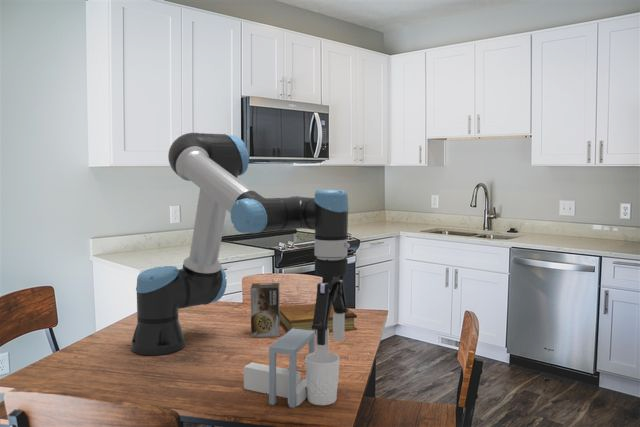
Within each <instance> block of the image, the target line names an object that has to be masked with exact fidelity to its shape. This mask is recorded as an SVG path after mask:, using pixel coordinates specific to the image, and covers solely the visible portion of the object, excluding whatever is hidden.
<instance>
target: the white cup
mask: <svg viewBox="0 0 640 427" xmlns="http://www.w3.org/2000/svg"><path fill="white" fill-rule="evenodd" d="M340 361H341V360H340V356H339V355H338V354H336V353H333V352H331V351H329V359H319V358H316V351H315V352H313V353H310V354H309V353H308V354H306V355H305V378H306V384H307V395H308V398H307V401H308V402H309V403H310V404H312V405H316V406H328V405H331V404H335V403H336V401H337V396H338V388H339V387H338V386H339V377H340V376H339V375H340V374H339V372H340Z"/></svg>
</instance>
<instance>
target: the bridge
mask: <svg viewBox="0 0 640 427" xmlns="http://www.w3.org/2000/svg"><path fill="white" fill-rule="evenodd" d="M307 344H308V354H310V353H313V352H316V334H315V331H312V330H303V329H293V328H292V329H291V330H290V331H289V332H285V334H284V335H283V336H281V337H280V338H279V339H278V340H276V341H275V342H274V343H273V344H271V345H270V346H269V348H268V349H269V350H268V356H269V357H268V359H269V361H268V362H269V363H268V365H269V394H268V396H269V398H268V404H269V405H272V406H274V405H276V403H277V396H276V367H277V354H278V355H279V354H280V355H287V356H289V357H288V358H289V361H288V362H289V404H288V407H289V408H293V409H294V408H296V407H297V406H296V371H298V370H297V365H298V364H297V360H298V359H297V356H298V352H300V351H301V350H302V349H303V348H304V347H305V346H306V345H307Z"/></svg>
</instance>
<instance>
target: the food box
mask: <svg viewBox="0 0 640 427" xmlns="http://www.w3.org/2000/svg"><path fill="white" fill-rule="evenodd" d="M249 290H250V337H251V338H267V337H270V338H274V337H280V335H281V333H280V332H281V325H280V306H281V305H280V298H281V297H280V283H279V282H277V283H276V282H275V283H274V282H260V283H259V282H258V283H257V282H255V283H253V282H252V284H251V287H250V289H249Z"/></svg>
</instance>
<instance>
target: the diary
mask: <svg viewBox="0 0 640 427" xmlns="http://www.w3.org/2000/svg"><path fill="white" fill-rule="evenodd" d="M315 305H316V303H309V304H308V303H307V304H306V303H305V304H296V305H295V304H294V305H280V328H282V329H283V330H284V331H285V333H287V332H289V331H290V330H291V329H292V328H293V329H303V330H312V331H315V335H316V329H312V325H313V319H314V312H315ZM347 309H348V313H343V314H345V315H344V332H349V331H351V332H352V331H357V328H356V326H355V319H357V318H358V315H357V314H356V313H354V312H353V311H351V310H350V309H349V308H347ZM333 313H336V312H334V308H333V305H332V307H331V312H330V317H329V322H328V327H327V329H329V334H330V333H333ZM320 324H322V323H320Z"/></svg>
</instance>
